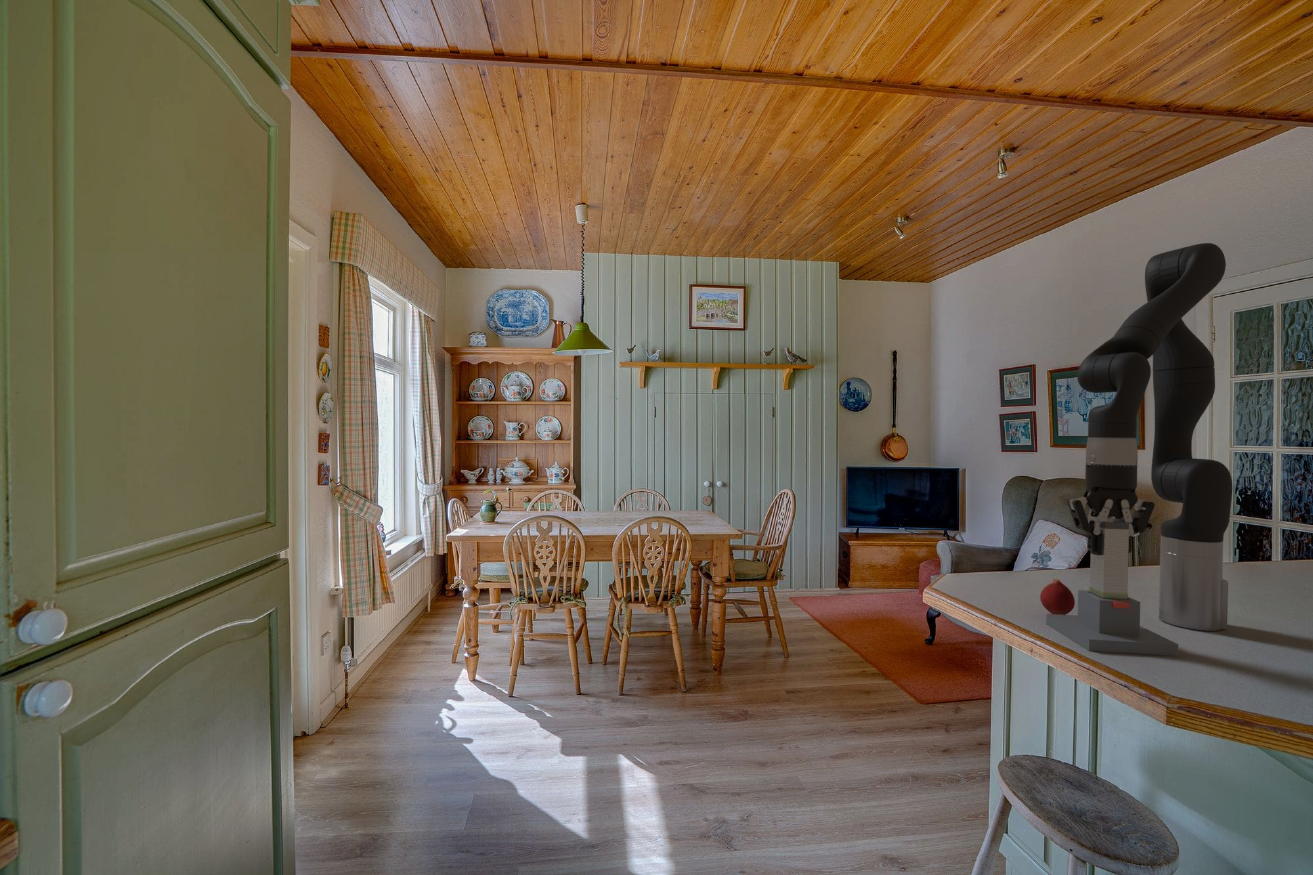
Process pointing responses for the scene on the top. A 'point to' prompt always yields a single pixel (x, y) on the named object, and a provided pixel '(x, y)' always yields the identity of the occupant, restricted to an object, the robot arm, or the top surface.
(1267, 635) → the top surface
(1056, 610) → the onion
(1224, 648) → the top surface
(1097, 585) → the column
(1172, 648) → the stand
